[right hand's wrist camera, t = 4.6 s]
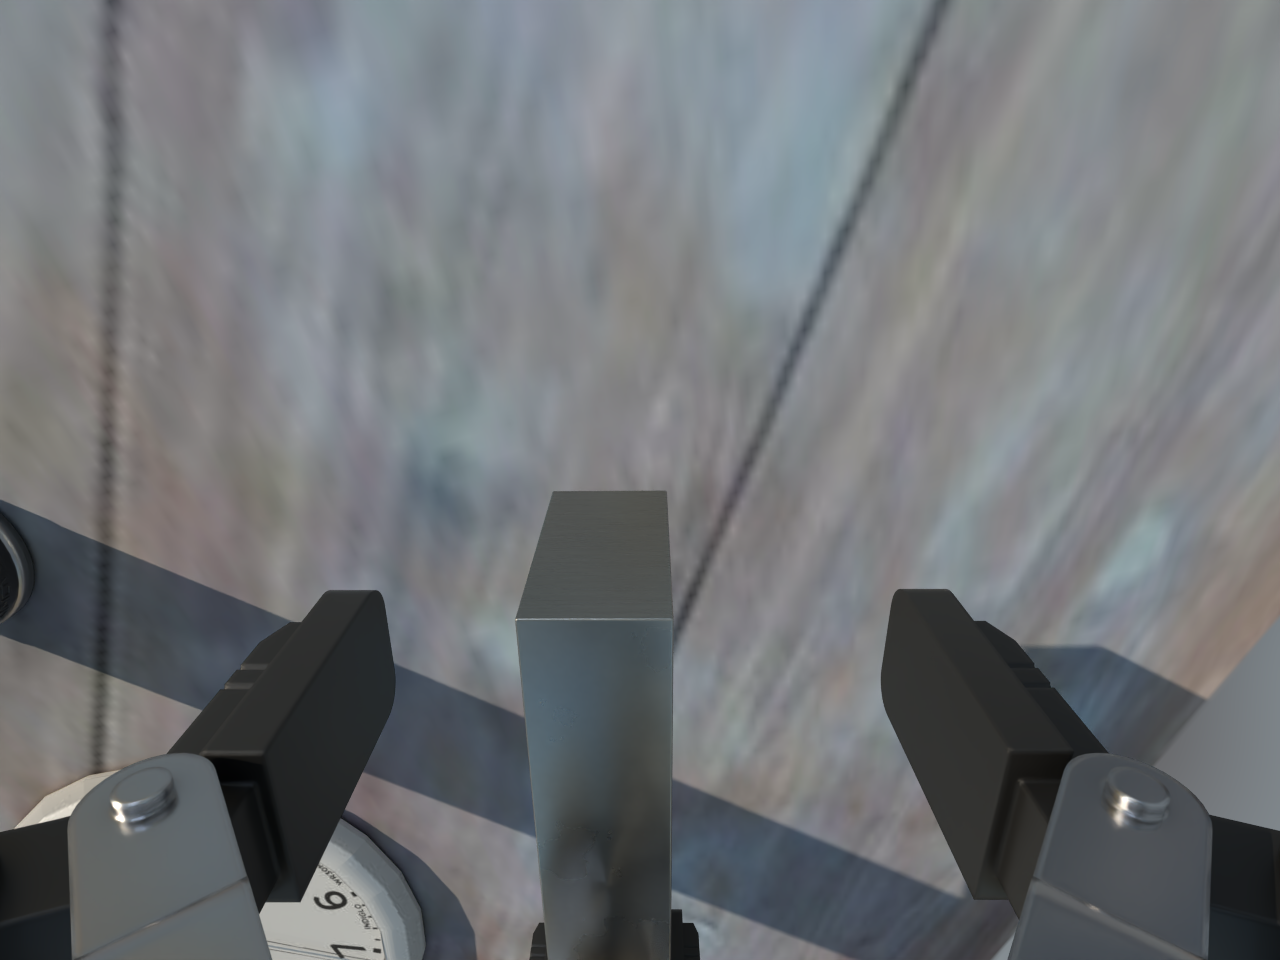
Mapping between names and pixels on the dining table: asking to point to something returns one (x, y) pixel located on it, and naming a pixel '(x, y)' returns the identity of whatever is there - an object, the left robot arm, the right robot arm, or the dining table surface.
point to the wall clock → (318, 897)
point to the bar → (601, 722)
